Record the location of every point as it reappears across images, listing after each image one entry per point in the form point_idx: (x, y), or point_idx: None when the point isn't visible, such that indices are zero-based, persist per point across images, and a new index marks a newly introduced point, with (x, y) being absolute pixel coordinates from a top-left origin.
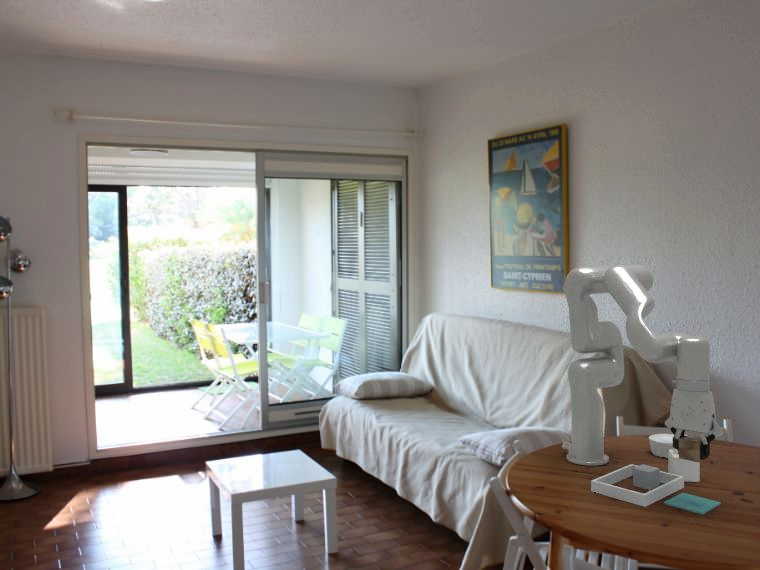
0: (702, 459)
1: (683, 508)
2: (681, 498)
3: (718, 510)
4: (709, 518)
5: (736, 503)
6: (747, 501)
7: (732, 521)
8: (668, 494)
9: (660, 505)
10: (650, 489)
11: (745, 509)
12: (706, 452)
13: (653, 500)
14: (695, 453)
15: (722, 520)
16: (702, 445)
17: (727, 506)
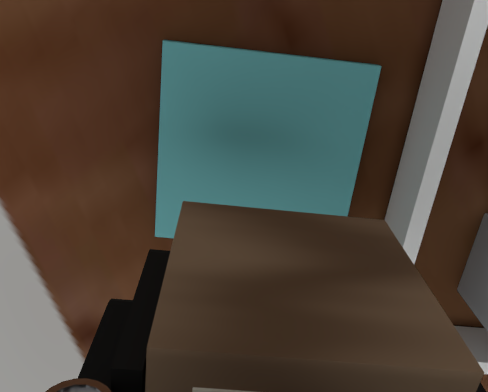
0: (154, 250)
1: (269, 52)
2: (319, 176)
3: (132, 152)
4: (117, 9)
5: (112, 282)
6: (90, 327)
7: (17, 45)
8: (391, 200)
9: (388, 32)
10: (485, 216)
11: (52, 238)
12: (105, 319)
13: (436, 46)
14: (207, 249)
15: (58, 25)
16: (116, 355)
17: (124, 226)
